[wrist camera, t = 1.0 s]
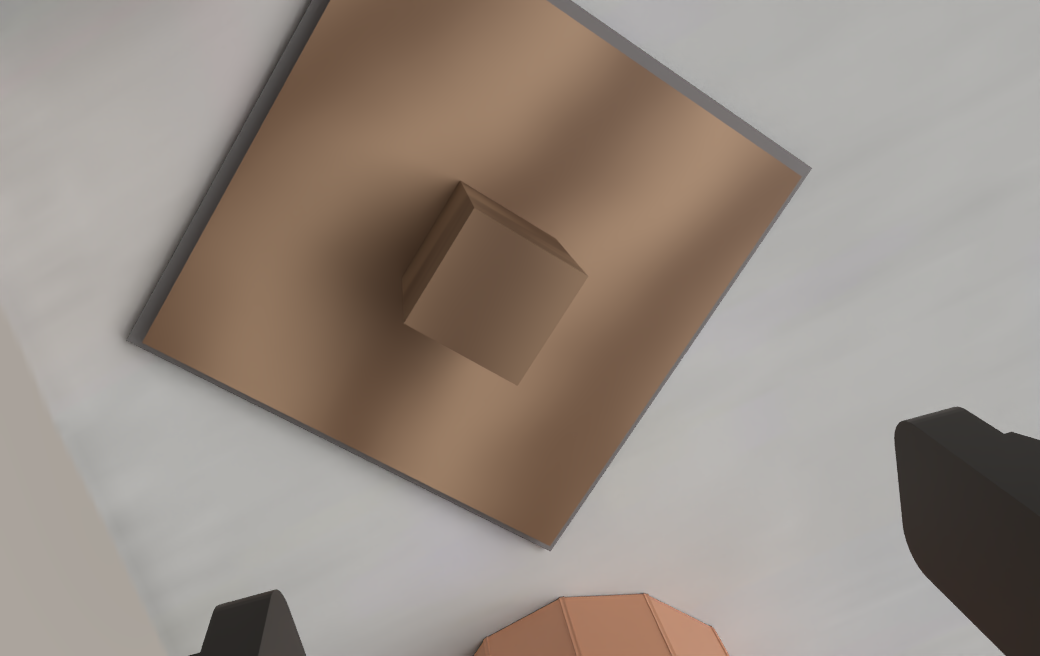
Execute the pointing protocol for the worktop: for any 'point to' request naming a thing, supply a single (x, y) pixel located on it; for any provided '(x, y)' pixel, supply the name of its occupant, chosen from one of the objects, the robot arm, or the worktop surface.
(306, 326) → the walnut lid
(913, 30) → the worktop surface
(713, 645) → the terracotta bowl
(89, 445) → the worktop surface
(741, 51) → the worktop surface
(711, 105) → the charcoal mat
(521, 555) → the worktop surface
